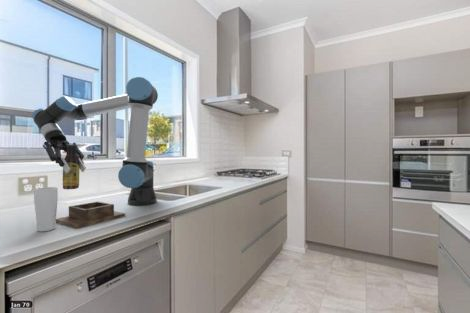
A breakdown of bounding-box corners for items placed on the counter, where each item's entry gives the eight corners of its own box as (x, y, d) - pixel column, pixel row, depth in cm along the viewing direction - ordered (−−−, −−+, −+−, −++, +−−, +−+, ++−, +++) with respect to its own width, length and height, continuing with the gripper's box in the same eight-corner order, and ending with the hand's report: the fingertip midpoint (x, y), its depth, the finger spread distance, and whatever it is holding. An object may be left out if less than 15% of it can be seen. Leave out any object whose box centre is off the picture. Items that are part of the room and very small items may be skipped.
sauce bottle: (60, 190, 105) (58, 144, 104) (66, 188, 111) (64, 145, 110) (77, 189, 106) (76, 144, 106) (82, 187, 112) (81, 145, 112)
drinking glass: (62, 226, 90) (62, 187, 90) (49, 232, 84) (48, 190, 83) (44, 226, 90) (43, 187, 90) (29, 232, 83) (28, 190, 83)
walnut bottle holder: (103, 211, 114) (103, 199, 114) (125, 216, 106) (125, 203, 106) (55, 222, 96) (55, 207, 96) (76, 228, 88) (76, 213, 88)
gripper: (71, 141, 123) (93, 174, 117) (26, 140, 106) (49, 178, 99) (77, 130, 121) (100, 163, 115) (32, 127, 103) (56, 165, 97)
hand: (76, 170), depth 107 cm, fingers closed on sauce bottle, 6 cm apart
